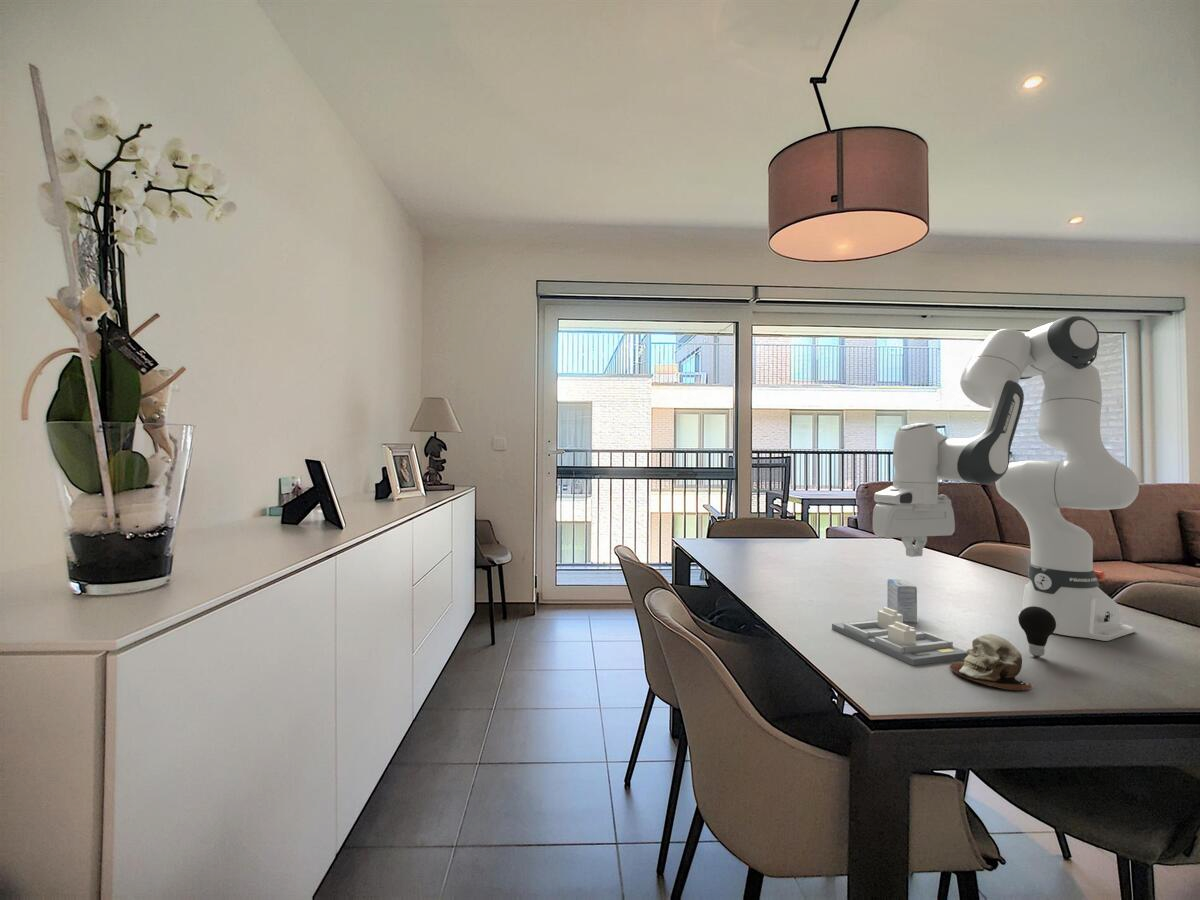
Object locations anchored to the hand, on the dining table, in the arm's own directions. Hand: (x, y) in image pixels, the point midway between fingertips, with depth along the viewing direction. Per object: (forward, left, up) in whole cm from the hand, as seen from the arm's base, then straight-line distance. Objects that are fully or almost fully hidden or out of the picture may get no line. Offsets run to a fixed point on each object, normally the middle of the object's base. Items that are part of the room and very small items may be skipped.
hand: (914, 556), depth 124 cm
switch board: (+10, +5, -17) cm, 20 cm away
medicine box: (-6, -9, -17) cm, 21 cm away
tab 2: (+13, +9, -16) cm, 22 cm away
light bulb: (-11, +19, -17) cm, 28 cm away
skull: (+7, +23, -18) cm, 30 cm away
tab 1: (+7, 0, -16) cm, 17 cm away
